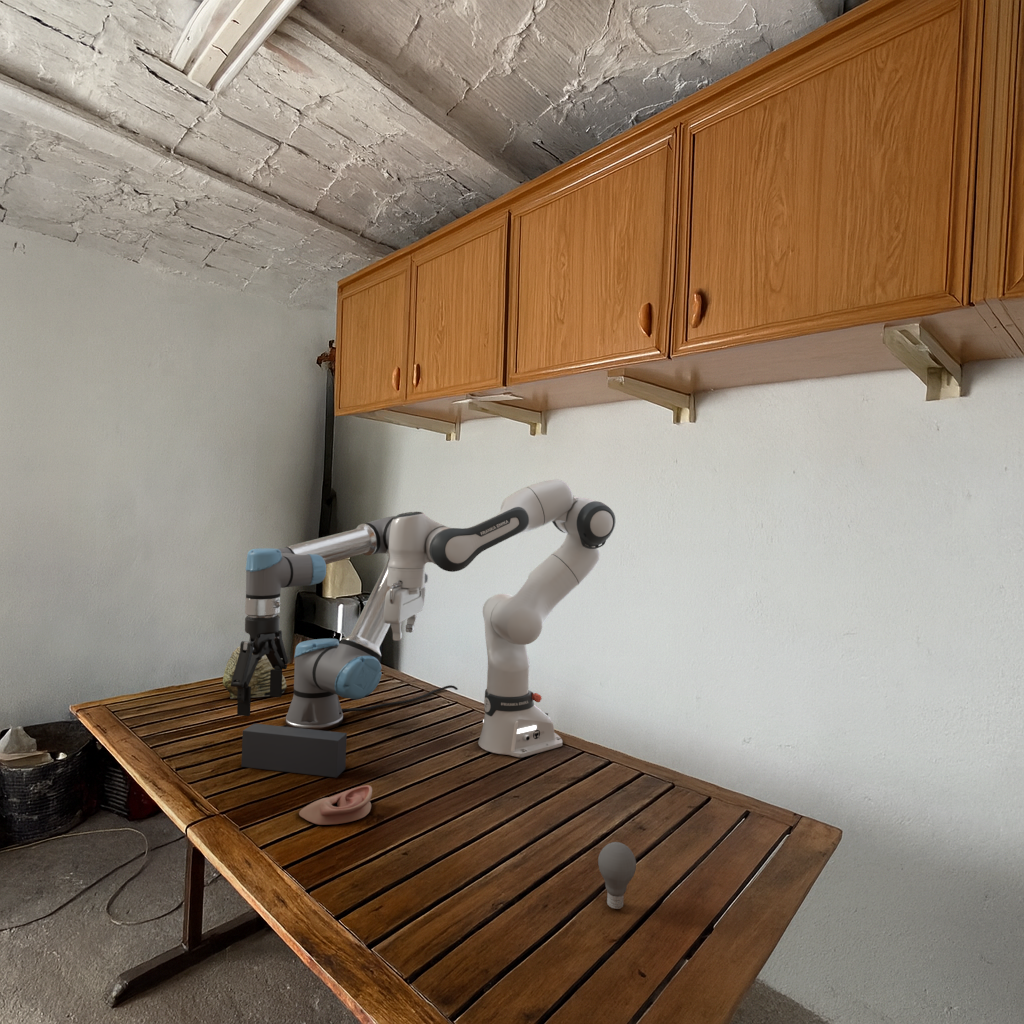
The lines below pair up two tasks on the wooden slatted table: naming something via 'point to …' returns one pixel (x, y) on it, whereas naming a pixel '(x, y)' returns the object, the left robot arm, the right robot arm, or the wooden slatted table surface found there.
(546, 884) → the wooden slatted table surface
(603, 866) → the light bulb
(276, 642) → the left robot arm
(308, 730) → the bar
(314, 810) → the anatomical model
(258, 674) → the fossil
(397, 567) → the right robot arm
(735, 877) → the wooden slatted table surface
